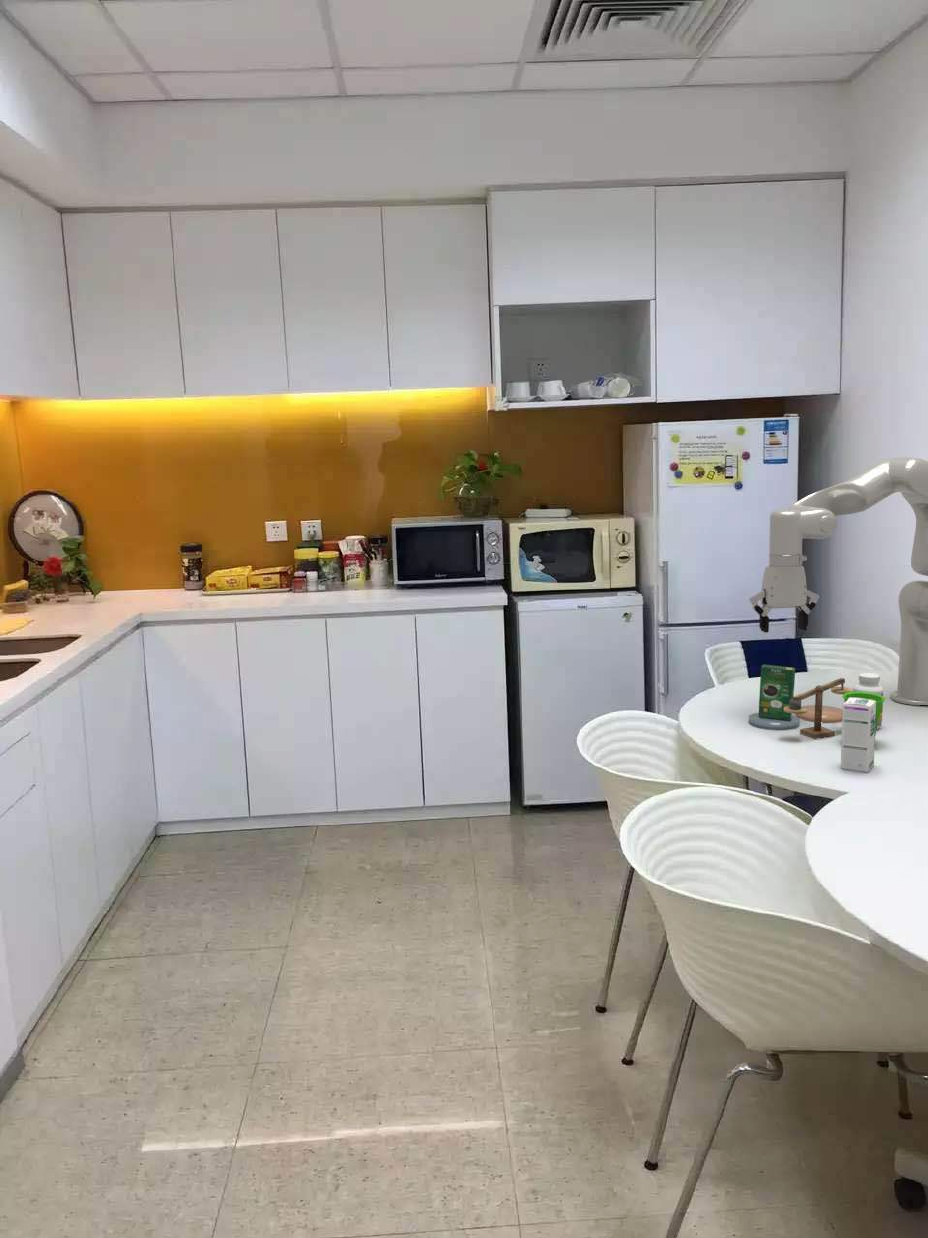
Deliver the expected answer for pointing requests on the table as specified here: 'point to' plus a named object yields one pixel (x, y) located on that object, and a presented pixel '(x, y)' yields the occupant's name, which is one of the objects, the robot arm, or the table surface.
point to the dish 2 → (828, 714)
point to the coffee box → (776, 691)
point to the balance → (816, 707)
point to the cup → (866, 695)
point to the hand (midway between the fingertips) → (783, 630)
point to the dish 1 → (773, 723)
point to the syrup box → (858, 734)
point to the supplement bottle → (870, 688)
